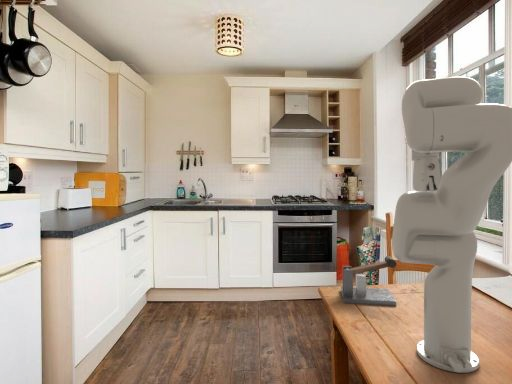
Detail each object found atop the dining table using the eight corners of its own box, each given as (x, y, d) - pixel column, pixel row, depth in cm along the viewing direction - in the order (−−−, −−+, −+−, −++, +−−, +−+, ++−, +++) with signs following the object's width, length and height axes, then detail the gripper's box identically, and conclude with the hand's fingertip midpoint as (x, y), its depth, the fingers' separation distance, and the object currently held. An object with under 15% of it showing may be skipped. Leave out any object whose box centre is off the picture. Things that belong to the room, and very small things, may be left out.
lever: (397, 267, 107) (395, 259, 107) (346, 278, 110) (344, 270, 110) (393, 262, 113) (391, 255, 113) (344, 273, 116) (342, 265, 116)
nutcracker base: (396, 305, 105) (396, 274, 104) (343, 303, 108) (343, 272, 107) (388, 293, 116) (388, 264, 116) (340, 290, 120) (340, 263, 119)
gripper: (448, 152, 90) (448, 216, 90) (428, 157, 105) (428, 212, 105) (420, 152, 91) (421, 216, 91) (404, 157, 106) (404, 212, 106)
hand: (425, 213), depth 98 cm, fingers closed
